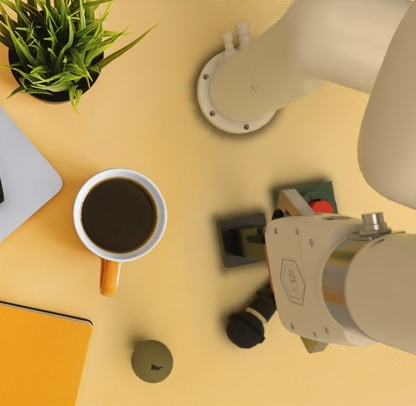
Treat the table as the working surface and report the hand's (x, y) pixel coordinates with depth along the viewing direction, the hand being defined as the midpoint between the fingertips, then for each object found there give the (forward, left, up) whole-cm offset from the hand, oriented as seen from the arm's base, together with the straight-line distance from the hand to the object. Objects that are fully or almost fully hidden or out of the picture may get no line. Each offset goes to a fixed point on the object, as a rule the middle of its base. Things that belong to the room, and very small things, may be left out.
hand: (265, 263), depth 56 cm
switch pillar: (0, +8, -25) cm, 27 cm away
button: (-3, +18, -22) cm, 28 cm away
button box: (-2, +18, -25) cm, 31 cm away
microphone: (+9, +11, -25) cm, 29 cm away
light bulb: (+13, -10, -25) cm, 30 cm away
